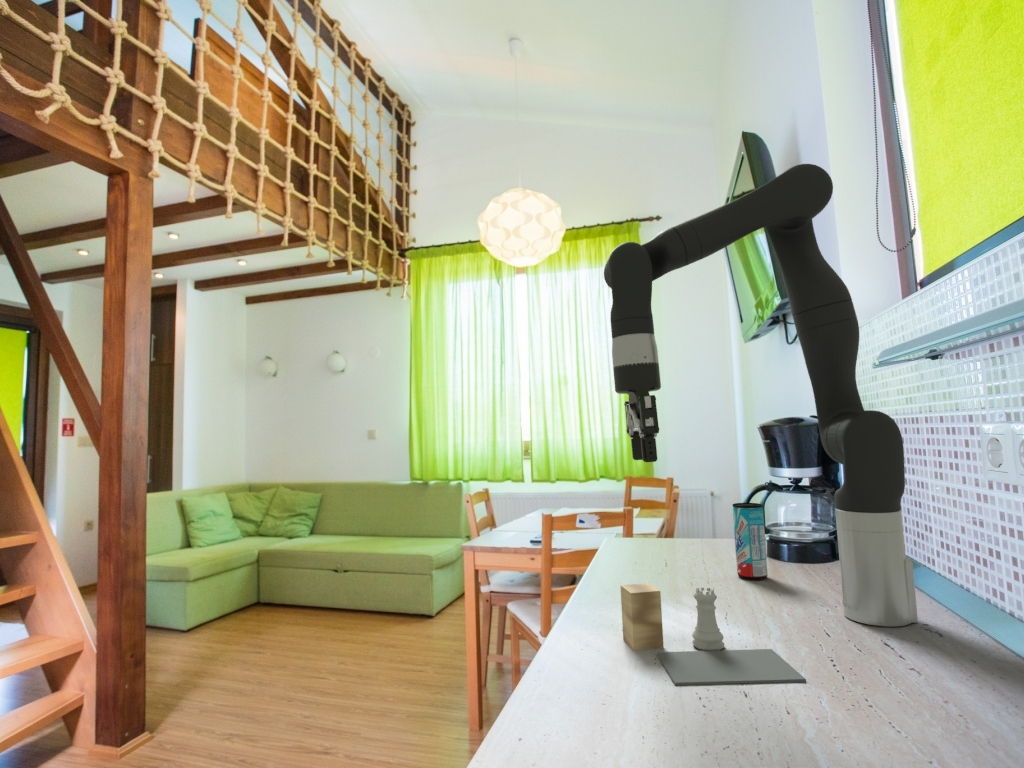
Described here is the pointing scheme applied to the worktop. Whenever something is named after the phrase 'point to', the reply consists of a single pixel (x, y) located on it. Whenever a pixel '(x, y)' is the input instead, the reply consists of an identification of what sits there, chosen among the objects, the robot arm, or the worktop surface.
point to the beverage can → (750, 541)
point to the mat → (727, 667)
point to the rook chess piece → (706, 622)
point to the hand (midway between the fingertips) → (644, 460)
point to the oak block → (642, 616)
